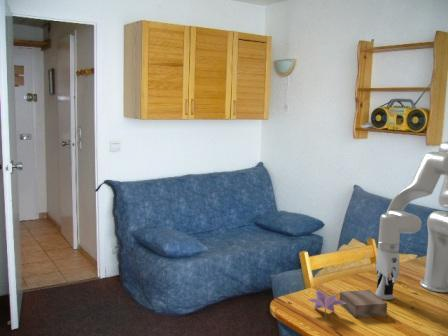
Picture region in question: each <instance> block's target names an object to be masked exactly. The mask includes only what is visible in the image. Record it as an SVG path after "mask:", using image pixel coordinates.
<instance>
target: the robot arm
mask: <svg viewBox="0 0 448 336" xmlns="http://www.w3.org/2000/svg"><path fill="white" fill-rule="evenodd" d="M441 176H444V177H443V182H442V185H441V188H440V191H439V196H438V204H439V205H440V206H441V207H442V208H444V209H447V210H448V141H444V142H441V143H440V144H439V146H438V151H430V152H426V153H425V154H424V156H423V157H422V160H420V164H419V166H418V168H417V170H416V172H415V174H414V176H413V178H412V181H411V183H410V184H409V185H408V186H406V187H405V188H404V189H402V190H401V191H400V192H399V193H397V194H396V195H395V196H394V197H393V198H392V200H391V202H390V203H389V205H388V208H387V210H386V211H385V212H386V213H382V214H381V215H380V218H379V228H378V242H377V252H376V259H375V269H376V274H377V277H376V279H377V283H376V285H377V286H376V288H377V289H378V287H379V285H380V282H381V280H382V275H384V276H385V277H386V284H385V290H384V294H385V295H392V294H393V295H394V293H393V292H394V286H395V284H396V282H398V278H399V276H400V263H401V261H400V253H399V249H400V238H401V237H400V236H401V234H408V235H411V234H416V233H418V232H419V231H420V230H421V229H422V226H423V223H422V219H421V218H420V217H419V216H418V215H417V214H414V213H410V212H408V211H405V208H406V207H407V206H408V205H409V203H411V202H412V201H415V200H418V199H421V198H425V197H428V196H431V195H432V194H433V193H434V191H435V188H436V186H437V184H438V182H439V181H440V178H441ZM426 226H427V236H428V238H427V250H426V259H425V260H426V261H425V271H424V278H423V279H420V281H419V285H420V286H421V287H422V288H424V289H425V290H428V291H432V292H436V293H448V212H447V211H444V210H434V211H432V212H430V214H429V215H428V216H427V221H426ZM389 278H390V281H389Z"/></svg>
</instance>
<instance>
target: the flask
mask: <svg viewBox="0 0 448 336" xmlns="http://www.w3.org/2000/svg"><path fill="white" fill-rule="evenodd" d="M390 280H391V278H389V281H390ZM385 284H386V277H385V276H384V275H382V280H381V282H380V285H379V287H378V288H377V289H376V290H375V293H374V294H376V295H377V296H378V297H380V298H381V299H382V300H384V301H385V300H387V301H388V300H389V301H390V300H394V298H395V296H394V293H393V294H392V295H385V294H384V290H385Z"/></svg>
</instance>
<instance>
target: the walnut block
mask: <svg viewBox="0 0 448 336" xmlns="http://www.w3.org/2000/svg"><path fill="white" fill-rule="evenodd" d="M339 300H341V301H343V302H345V303H346V304H340V306H341V307H342V308H343V309H344V310H345V311H346V312H348V313H349V314H350V315H351V316H352V317H353V318H354V319H362V318H365V319H367V318H376V317H387V313H388V302H387V301H385V299H381V298H380V297H378V296H377V295H376V294H375V293H374V292H373V291H372V290H370V289H363V290H362V289H361V290H348V291H347V290H346V291H340V293H339Z"/></svg>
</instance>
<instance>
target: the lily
mask: <svg viewBox="0 0 448 336" xmlns="http://www.w3.org/2000/svg"><path fill="white" fill-rule="evenodd" d="M315 295H316V296H315V297H316V298H309V299H307V301H308V302H310V303H313V304H314V306H313V309H314V310H317V309H318V310H319V309H321V308H324V321H326V320H327V310H329V311H331V312H332V313H335V306H338V305H340V304H346V303H345V302H343V301H341V300H340V299H337V294H331V295H327V294H326V293H325V292H323V291H322V290H320V289H316V290H315ZM340 306H341V305H340Z"/></svg>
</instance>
